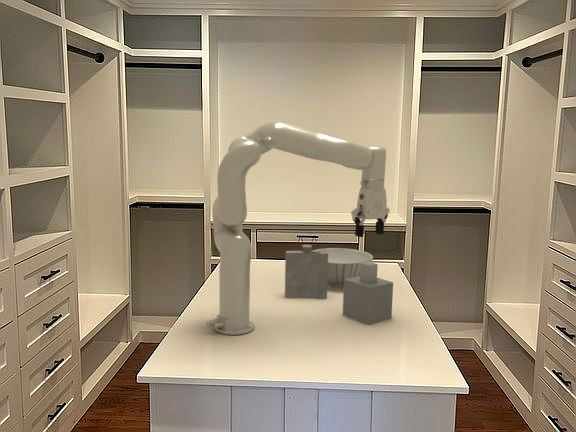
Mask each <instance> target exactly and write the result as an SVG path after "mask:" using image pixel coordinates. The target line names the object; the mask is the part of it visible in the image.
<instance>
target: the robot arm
mask: <svg viewBox="0 0 576 432" xmlns="http://www.w3.org/2000/svg"><path fill="white" fill-rule="evenodd" d="M273 149H275V150H278V151H282V152H285V153H289V154H293V155H297V156H299V157H303V158H307V159H311V160H315V161H321V162H328V163H333V164H336V165H340V166H342V167H345V168H347V169H353V170H356V171H357V170H358V171H361V179H360V180H361V181H360V183H359V184H360V188H359V191H358V197H357V203H356V208H354V209H353V210H352V211H351V212H350V213H351V217H352V221H353V222H354V223H353V224H355V231H354V235H355V237H359V238H363V237H364V233H365V231H364V230H365V226H364V223H365V221H366V220H376V221H375V231H374V232H375V234H377V235H382V236H383V235H384V231H385V223H386V222H387V221H386V220H387V218H388V215H389V213H390V210H391V209H390V208H389V207H387V203H388V202H387V192H386V188H385V178H386V176H385V175H386V162H387V149H386V148H385V147H383V146H373V145H372V146H371V145H369V146H364V145H361V144H357V143H354V142H351V141H348V140H347V141H346V140H343V139H341V138H340V139H339V138H336V137H332V136H329V135H327V134H324V133H321V132H318V131H315V130H310V129H307V128H305V127H304V128H303V127H300V126H297V125H294V124H290V123H286V122H283V121H276V120H275V121H268V122H265V123H263V124H261V125H260V126H257V127H256V128H255V129H252V130H250V131H249V132H247V133H244V134H243V135H241V136H238V137H237V138H235V139H234V140H233V141H232V142H230V144H229V146H228V150H227V153H226V154H225V155H224V157H223V158H222V160H221V161H220V164H219V166H218V170H217V180H216V181H217V197H216V198H215V199H214V201H213V203H212V209H211V210H212V227H213V239H214V243H215V247H216V249H217V250H218V251H219V253H220V254H219V258H220V259H219V269H218V270H219V273H218V275H219V276H218V277H219V279H218V280H219V281H218V282H219V283H218V284H219V311H218V312H219V313H218V314H216V317H215V318H214V319H211V320H207V321H205V327H206V328H212V327H213V328H214V330H215V331H216V332H217V333H220V334H224V335H226V336H227V335H228V336H230V335H231V336H240V335H245V334H248V333H251V332H252V331H254V329H255V323H254V322H253V321H252V320H251V319H250V302H251V301H250V297H251V296H250V295H251V294H250V293H251V291H250V289H251V288H250V287H251V286H250V285H251V283H250V282H251V281H250V280H251V279H250V277H251V275H250V273H251V271H250V270H251V261H252V253H253V249H252V243H251V241H250V239H249V237H248V236H247V235H246V234H245V233H244V232H243V231H244V230H243V223H244V222H245V221H246V220H247V216H248V208H247V197H246V195H247V193H246V178H247V174H248V172H249V170H250V169H251V168H252V167H253V166H255V165H256V164H258V162H260V159H261V157H262V156H263V155H265V154H266V153H268V152H269V151H272V150H273Z"/></svg>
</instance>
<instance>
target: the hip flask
mask: <svg viewBox="0 0 576 432" xmlns="http://www.w3.org/2000/svg"><path fill="white" fill-rule="evenodd" d="M301 246H302V250H286V251H285V259H284V260H285V261H284V262H285V264H284V267H285V268H284V269H285V270H284V273H285V275H284V298H285V299H315V300H316V299H317V300H326V299H327V298H328V286H327V280H328V252H320V251H315V250H316V249H313V250H312V248H313V245H312V244H302V245H301Z"/></svg>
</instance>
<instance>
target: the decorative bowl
mask: <svg viewBox="0 0 576 432" xmlns="http://www.w3.org/2000/svg"><path fill="white" fill-rule="evenodd" d="M314 250H315V251H320V252H328V280H327V287H330V288H339V289H342V288H343V289H344V279H348V278H353V277H357V276H360V269H361V263H365V262H372V263H373V259H374V255H372V254H371V253H370V252H367V251H363V250H360V249H356V248H355V249H354V248H345V247H344V248H343V247H341V248H340V247H327V248H317V249H314Z"/></svg>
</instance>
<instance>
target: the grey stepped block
mask: <svg viewBox="0 0 576 432" xmlns="http://www.w3.org/2000/svg"><path fill="white" fill-rule="evenodd" d="M378 266H379V264H378V263H375V262H373V261H372V262H365V263H361V269H360V276H357V277H353V278H348V279H344V288H343V295H342V296H343V297H342V315H343V316H345V317H347V318H350V319H352V320H355V321H357V322H360V323H362V324H365V325H367V324H368V325H367V326H369V325H373V324H376V323H380V322H384V321H386V320H390V319H392V314H393V295H394V292H393V291H394V282H392V281H390V280H386V279H383V278H379V277H378Z"/></svg>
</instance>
